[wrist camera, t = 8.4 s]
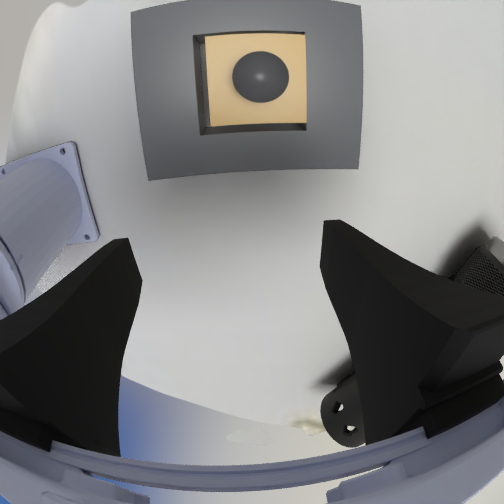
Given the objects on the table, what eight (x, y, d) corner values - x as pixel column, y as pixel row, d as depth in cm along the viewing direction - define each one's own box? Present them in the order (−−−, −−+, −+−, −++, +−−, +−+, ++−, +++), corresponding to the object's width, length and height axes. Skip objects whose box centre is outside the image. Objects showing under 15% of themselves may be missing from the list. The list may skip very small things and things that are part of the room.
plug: (218, 112, 16) (207, 132, 10) (214, 52, 14) (200, 30, 7) (283, 109, 16) (315, 128, 10) (281, 50, 14) (314, 28, 7)
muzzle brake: (310, 381, 34) (325, 451, 25) (472, 212, 21) (540, 277, 12) (358, 388, 37) (375, 447, 28) (499, 250, 24) (548, 306, 15)
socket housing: (160, 165, 17) (148, 180, 15) (146, 21, 12) (130, 12, 9) (341, 155, 18) (358, 169, 15) (341, 15, 12) (360, 5, 10)
